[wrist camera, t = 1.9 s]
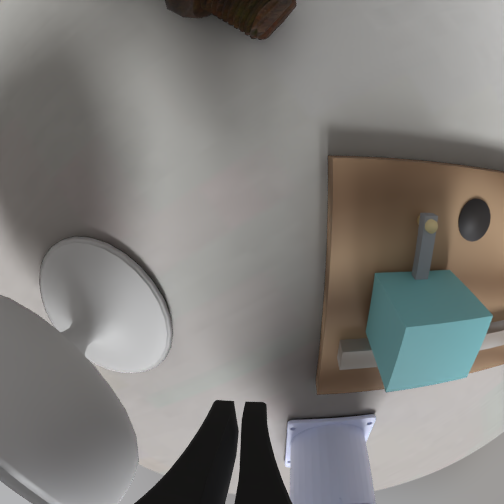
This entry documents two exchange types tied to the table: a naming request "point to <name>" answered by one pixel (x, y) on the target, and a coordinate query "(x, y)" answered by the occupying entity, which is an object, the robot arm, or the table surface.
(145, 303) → the chalice
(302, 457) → the robot arm
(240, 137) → the table surface
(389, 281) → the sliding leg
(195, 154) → the table surface
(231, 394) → the table surface
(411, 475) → the table surface
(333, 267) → the board
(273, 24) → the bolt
